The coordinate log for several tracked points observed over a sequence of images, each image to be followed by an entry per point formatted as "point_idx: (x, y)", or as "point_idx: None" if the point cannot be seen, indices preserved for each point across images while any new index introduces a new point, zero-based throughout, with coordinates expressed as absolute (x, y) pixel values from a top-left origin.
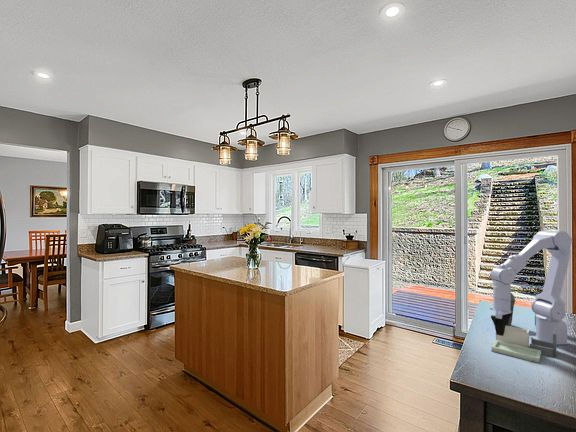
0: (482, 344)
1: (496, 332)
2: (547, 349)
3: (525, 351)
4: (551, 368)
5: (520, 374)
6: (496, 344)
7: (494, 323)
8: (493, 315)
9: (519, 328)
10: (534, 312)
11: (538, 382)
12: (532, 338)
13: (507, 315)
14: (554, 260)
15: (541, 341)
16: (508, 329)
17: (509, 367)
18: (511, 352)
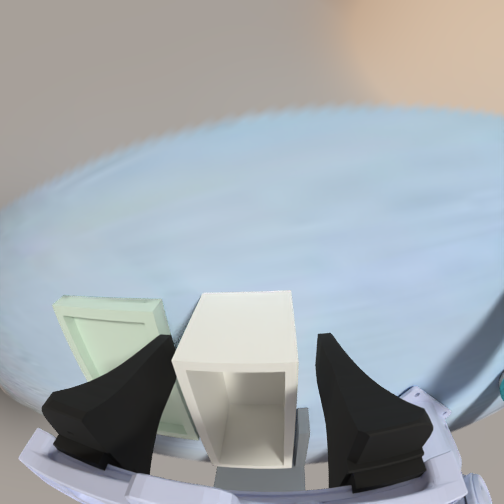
0: (94, 244)
1: (151, 342)
2: None
3: (167, 401)
4: None
5: (21, 362)
6: (106, 317)
7: (95, 382)
8: (90, 432)
9: (284, 449)
10: (465, 481)
11: (29, 385)
12: (308, 434)
13: (334, 476)
14: None
15: (297, 449)
16: (194, 418)
17: (23, 345)
18: (81, 366)
